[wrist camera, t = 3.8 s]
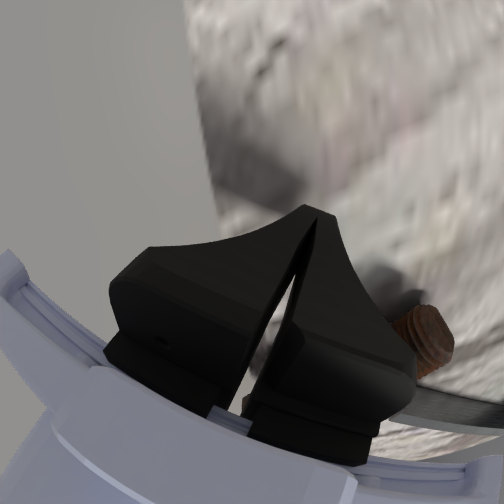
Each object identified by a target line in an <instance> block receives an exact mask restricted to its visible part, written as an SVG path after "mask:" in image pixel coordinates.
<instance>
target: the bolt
mask: <svg viewBox="0 0 504 504" xmlns="http://www.w3.org/2000/svg"><path fill="white" fill-rule="evenodd" d="M391 327H392V328H393V329H394V330H395V332H396V333H397V334H398V335H399V336H400V337H401V338H402V339H403V340H404V341H405V343H406V344H407V345H408V346H409V347H410V348H411V349H412V350H413V351H414V353H415V354H416V361H417V380H418V379H421V378H422V377H423V376H426V375H427V374H428V373H431V372H433V371H434V370H437V369H438V368H439V367H442V366H444V365H445V363H449V362H450V361H451V358H452V355H453V349H454V343H455V342H454V337H453V335H452V333H451V331H450V330H449V328H448V326H447V324H446V323H445V321H444V319H443V318H442V316H441V315H440V313H439V311H438V310H437V308H435V307H434V306H431V305H420V306H419V305H416V306H415V308H414V309H411V310H410V311H409V313H406V314H405V315H404V316H403V317H401V318H400V319H399V320H397V321H395V322H394V323H393V324H391ZM250 394H251V393H250ZM250 394H248V395H247V396H245V397H244V398H243V399H242V411H243V408H244V406H245V404H246V402H247V400H248V398H249V396H250Z"/></svg>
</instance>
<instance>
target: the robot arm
mask: <svg viewBox="0 0 504 504" xmlns="http://www.w3.org/2000/svg"><path fill="white" fill-rule="evenodd" d="M294 275H295V278H294V282H293V285H292V289H291V292H290V296H289V299H288V303H287V306H286V310H285V313H284V317H283V320H282V323H281V326H280V328H279V331H278V333H277V336H276V338H275V340H274V343H273V345H272V347H271V350H270V352H269V354H268V356H267V359H266V361H265V363H264V365H263V368H262V370H261V372H260V374H259V377H258V379H257V381H256V383H255V385H254V387H253V390H252V392H251V394H250V396H249V398H248V400H247V402H246V404H245V406H244V408H243V411H242V413H241V415H240V416H238V415H235V414H233V413H231V412H228V411H227V410H228V408H229V406H230V404H231V402H232V400H233V398H234V396H235V394H236V392H237V390H238V388H239V386H240V384H241V381H242V379H243V377H244V375H245V373H246V371H247V369H248V367H249V364H250V362H251V360H252V358H253V356H254V354H255V351H256V349H257V347H258V345H259V343H260V341H261V338H262V336H263V334H264V332H265V329H266V327H267V325H268V323H269V321H270V319H271V317H272V315H273V313H274V311H275V310H276V308H277V306H278V304H279V303H280V301H281V299H282V297H283V295H284V294H285V292H286V290H287V288H288V286H289V285H290V283H291V281H292V279H293V277H294ZM109 297H110V303H111V306H112V309H113V312H114V315H115V318H116V321H117V324H118V327H119V332H118V333H117V334H116V335H115V336H114V337H113V338H112V340H111V341H110V342H109V343H108V344H107V343H106V342H104V341H103V340H102V339H100V338H99V337H97V336H96V335H95V334H93V333H92V332H91V331H89V330H88V329H87V328H85V327H84V326H83V325H82V324H80V323H79V322H78V321H76V320H75V319H74V318H73V317H71V316H70V315H69V314H68V313H67V312H65V311H64V310H63V309H62V308H60V307H59V306H58V305H57V304H56V303H55V302H54V301H52V300H51V299H50V298H49V297H48V296H47V295H46V294H44V293H43V292H42V291H41V290H40V289H39V288H38V287H37V286H36V285H35V284H34V283H33V282H32V281H31V280H30V279H29V275H28V273H27V271H26V269H25V267H24V265H23V263H22V262H21V261H20V259H19V258H18V257H16V255H15V254H13V252H11V250H9V249H7V250H6V251H5V252H4V253H2V254H1V255H0V348H1V350H2V351H3V353H4V354H5V356H6V357H7V359H8V360H9V361H10V362H11V364H12V366H13V367H14V368H15V370H16V371H17V372H18V374H19V375H20V376H21V378H22V379H23V380H24V381H25V383H26V384H27V385H28V386H29V387H30V389H31V390H32V391H33V392H34V393H35V395H36V396H37V397H38V398H39V399H40V400H41V402H43V404H44V405H45V406H46V407H47V409H46V410H45V412H44V413H43V414H42V416H41V417H40V418H39V420H38V421H37V422H36V424H35V425H34V427H33V428H32V430H31V431H30V432H29V434H28V435H27V437H26V438H25V439H24V441H23V442H22V444H21V445H20V447H19V448H18V450H17V451H16V453H15V454H14V456H13V457H12V459H11V460H10V462H9V463H8V465H7V466H6V468H5V470H4V471H3V473H2V474H1V476H0V504H498V499H499V493H500V485H501V476H502V464H503V456H502V455H488V456H483V457H479V458H477V459H474V460H472V461H470V462H468V463H467V464H448V463H426V462H415V461H405V460H397V459H390V458H383V457H377V456H371V455H369V451H370V446H371V442H372V437H373V438H374V437H376V436H377V435H378V434H379V429H380V423H381V422H382V421H384V420H386V419H387V418H389V417H391V416H393V415H394V414H396V413H398V412H399V411H401V410H402V409H403V408H405V407H406V406H407V405H408V404H410V403H411V402H412V400H413V398H414V397H415V395H416V381H417V361H416V354H415V353H414V351H413V350H412V349H411V348H410V347H409V346H408V345H407V344H406V343H405V341H404V340H403V339H402V338H401V337H400V336H399V335H398V334H397V333H396V332H395V330H394V329H393V328H392V327H391V325H390V324H389V323H388V322H387V320H386V319H385V318H384V317H383V315H382V314H381V313H380V311H379V310H378V309H377V307H376V306H375V304H374V303H373V301H372V300H371V298H370V297H369V295H368V294H367V292H366V290H365V289H364V287H363V286H362V284H361V282H360V280H359V278H358V276H357V274H356V273H355V271H354V269H353V267H352V265H351V262H350V260H349V257H348V255H347V252H346V249H345V247H344V244H343V241H342V238H341V234H340V231H339V227H338V223H337V219H336V217H335V216H334V215H331V214H329V213H326V212H324V211H321V210H319V209H316V208H313V207H311V206H308V205H305V204H304V205H301V206H300V207H298V208H297V209H295V210H294V211H292V212H291V213H289V214H288V215H286V216H284V217H282V218H281V219H279V220H277V221H275V222H273V223H271V224H269V225H267V226H265V227H263V228H260V229H258V230H255V231H253V232H250V233H247V234H244V235H241V236H237V237H233V238H228V239H224V240H220V241H215V242H209V243H202V244H193V245H183V246H163V247H162V246H160V247H148V248H147V249H146V250H145V251H143V252H142V253H141V254H139V255H138V256H137V257H136V258H135V259H134V260H133V261H132V262H131V263H130V264H129V265H128V266H127V267H126V268H124V270H122V271H121V272H120V273H119V274H118V275H117V276H116V277H115V278H114V279H113V280H112V281H111V282H110V286H109Z"/></svg>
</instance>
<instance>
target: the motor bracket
mask: <svg viewBox="0 0 504 504" xmlns="http://www.w3.org/2000/svg"><path fill="white" fill-rule="evenodd" d="M389 421H392V422H396V423H401V424H406V425H411V426H416V427H422V428H428V429H434V430H441V431H448V432H456V433H465V434H476V435H491V436H504V406H502V405H496V404H491V403H486V402H481V401H476V400H471V399H467V398H462V397H458V396H454V395H450V394H445V393H441V392H437V391H434V390H430V389H426V388H422V387H419V386H416V395H415V397H414V398H413V400H412V402H411V403H410V404H408V405H407V406H406V407H405V408H403V409H402V410H401V411H399V412H398V413H396V414H394V415H393V416H391V417H389Z"/></svg>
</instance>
